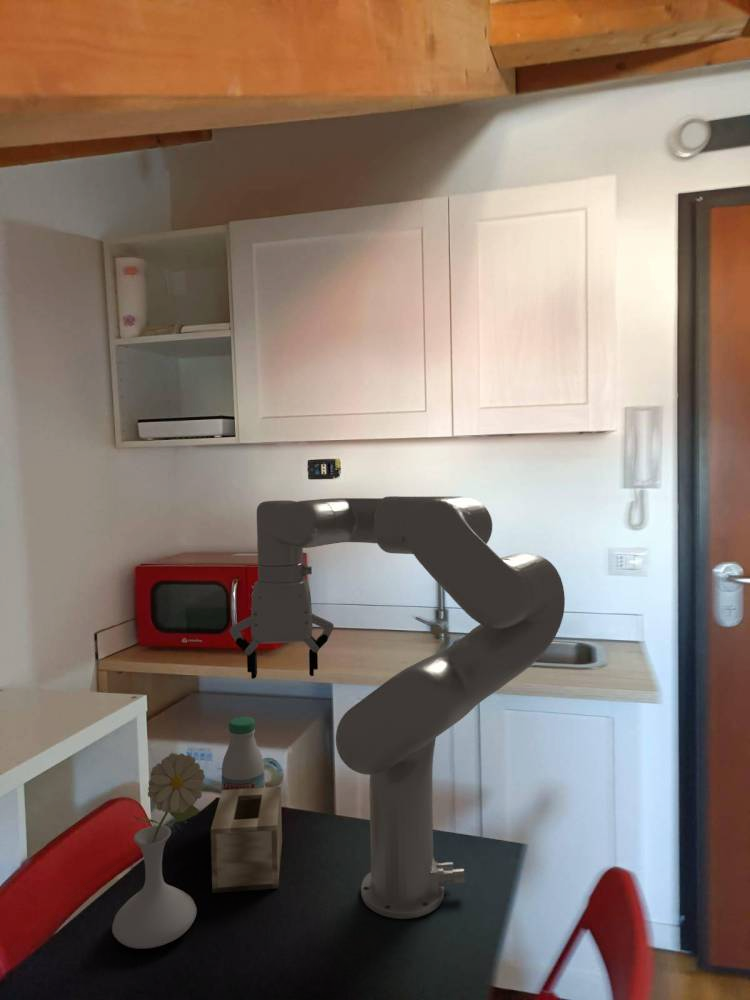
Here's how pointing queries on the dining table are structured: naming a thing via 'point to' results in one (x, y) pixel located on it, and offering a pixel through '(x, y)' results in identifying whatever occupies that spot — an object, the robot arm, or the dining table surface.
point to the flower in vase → (158, 905)
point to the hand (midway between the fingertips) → (283, 675)
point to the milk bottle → (242, 757)
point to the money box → (247, 840)
